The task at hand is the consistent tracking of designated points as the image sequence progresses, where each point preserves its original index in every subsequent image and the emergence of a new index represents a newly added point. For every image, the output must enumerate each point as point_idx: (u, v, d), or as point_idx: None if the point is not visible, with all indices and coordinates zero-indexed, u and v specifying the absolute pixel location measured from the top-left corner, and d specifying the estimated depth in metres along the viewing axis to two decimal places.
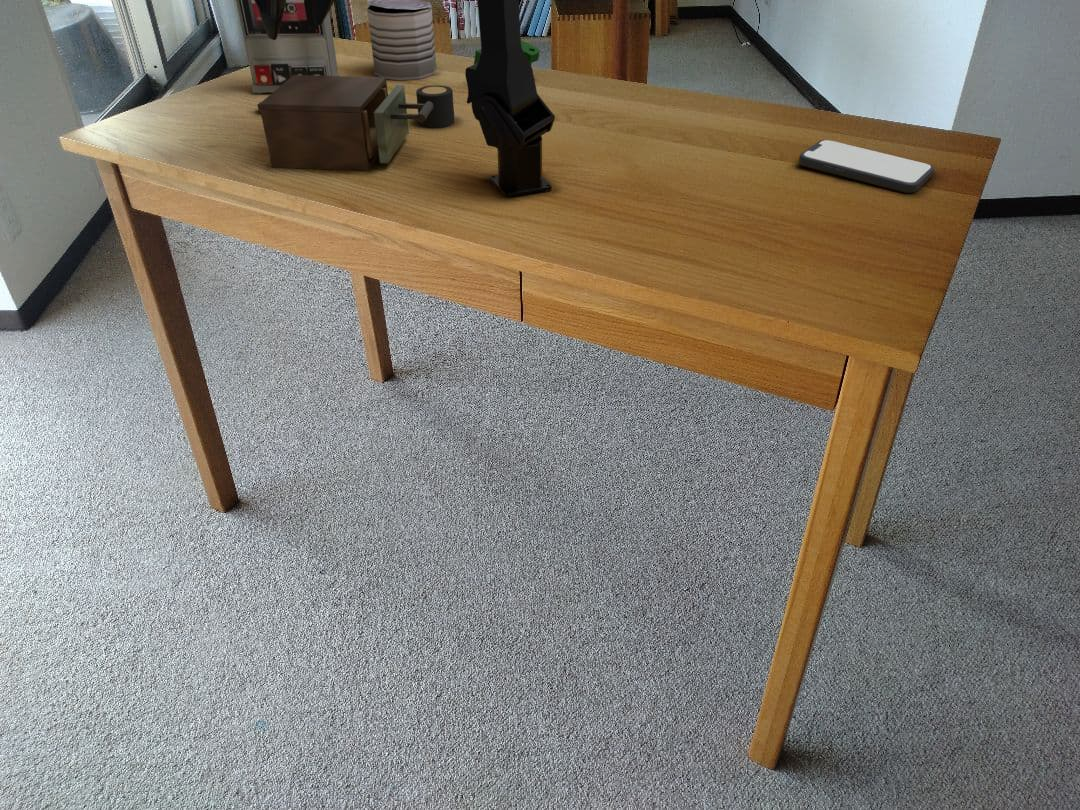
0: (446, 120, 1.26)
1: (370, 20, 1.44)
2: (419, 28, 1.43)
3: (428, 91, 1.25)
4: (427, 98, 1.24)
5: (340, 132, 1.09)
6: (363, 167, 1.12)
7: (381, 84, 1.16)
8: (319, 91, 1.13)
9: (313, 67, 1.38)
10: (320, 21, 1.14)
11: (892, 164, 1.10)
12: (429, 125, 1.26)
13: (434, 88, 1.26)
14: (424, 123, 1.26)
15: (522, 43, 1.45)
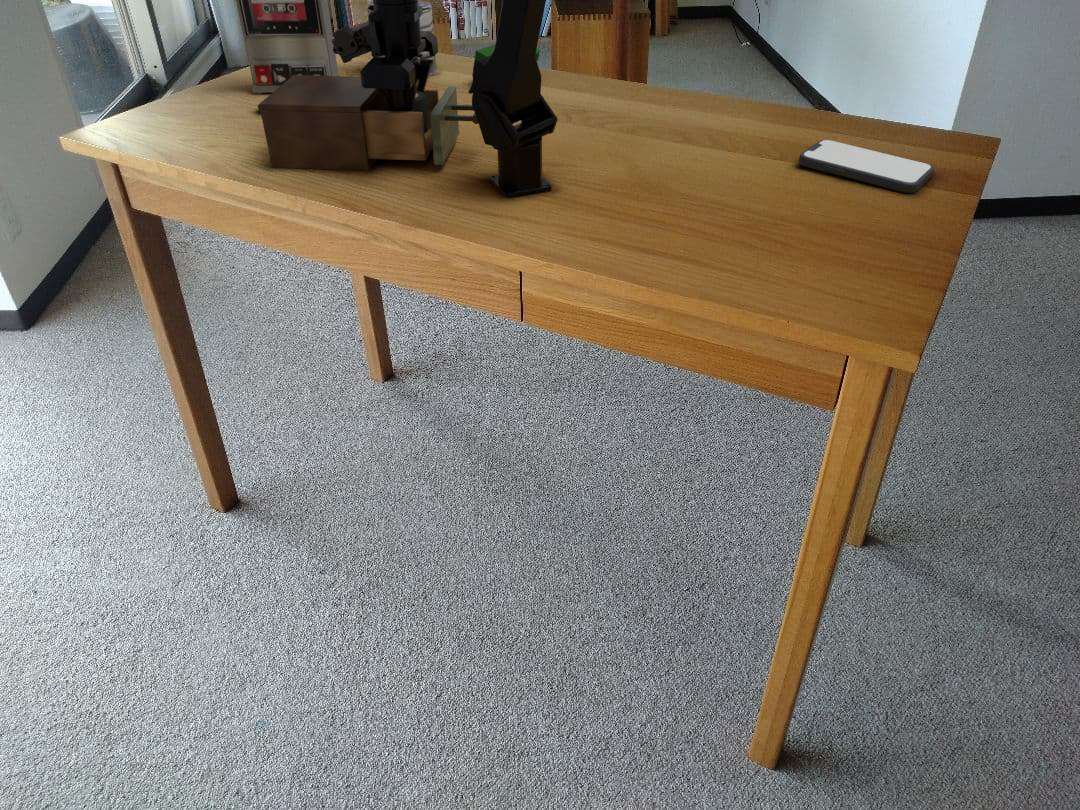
0: None
1: None
2: None
3: None
4: (423, 100, 1.12)
5: (340, 132, 1.09)
6: (363, 167, 1.12)
7: None
8: (319, 91, 1.13)
9: (313, 67, 1.38)
10: None
11: (892, 163, 1.10)
12: (426, 130, 1.14)
13: None
14: None
15: None
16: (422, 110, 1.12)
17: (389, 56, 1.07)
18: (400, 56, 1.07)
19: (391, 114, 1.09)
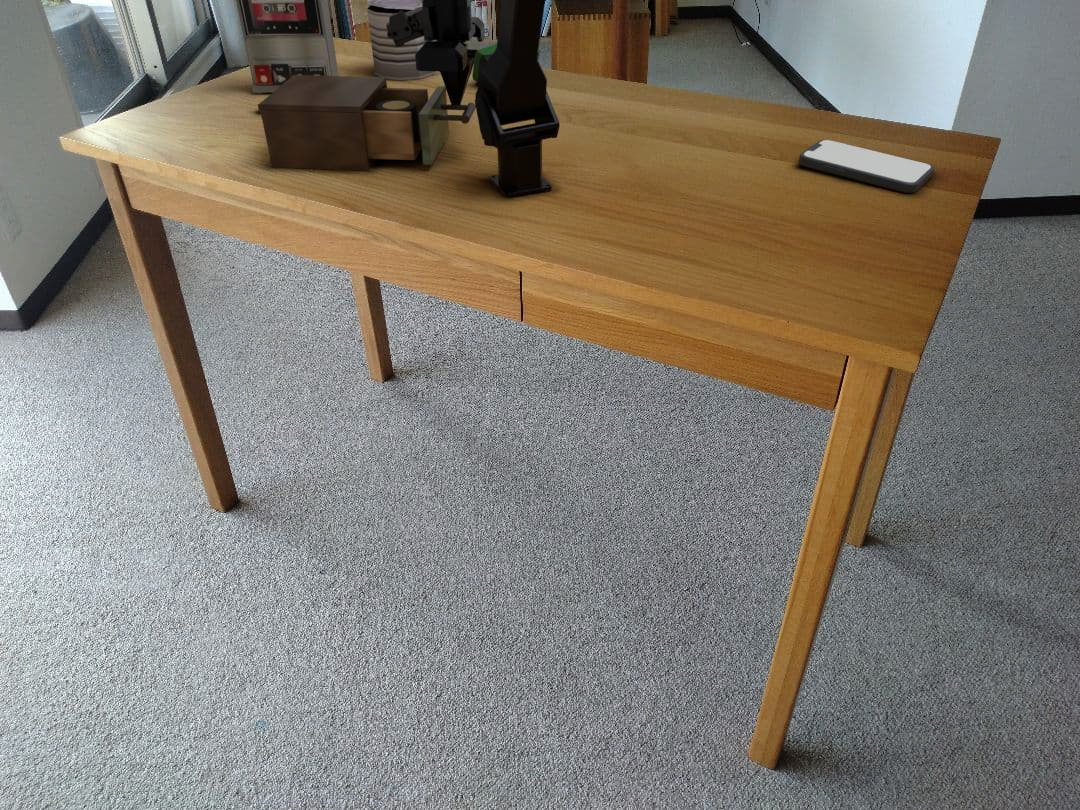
0: None
1: (370, 20, 1.44)
2: None
3: (400, 106, 1.13)
4: (415, 110, 1.13)
5: (340, 132, 1.09)
6: (363, 167, 1.12)
7: (381, 84, 1.16)
8: (319, 91, 1.13)
9: (313, 67, 1.38)
10: None
11: (892, 163, 1.10)
12: (417, 139, 1.15)
13: (386, 105, 1.13)
14: None
15: None
16: (413, 119, 1.13)
17: (441, 40, 1.10)
18: (452, 40, 1.10)
19: (380, 113, 1.09)
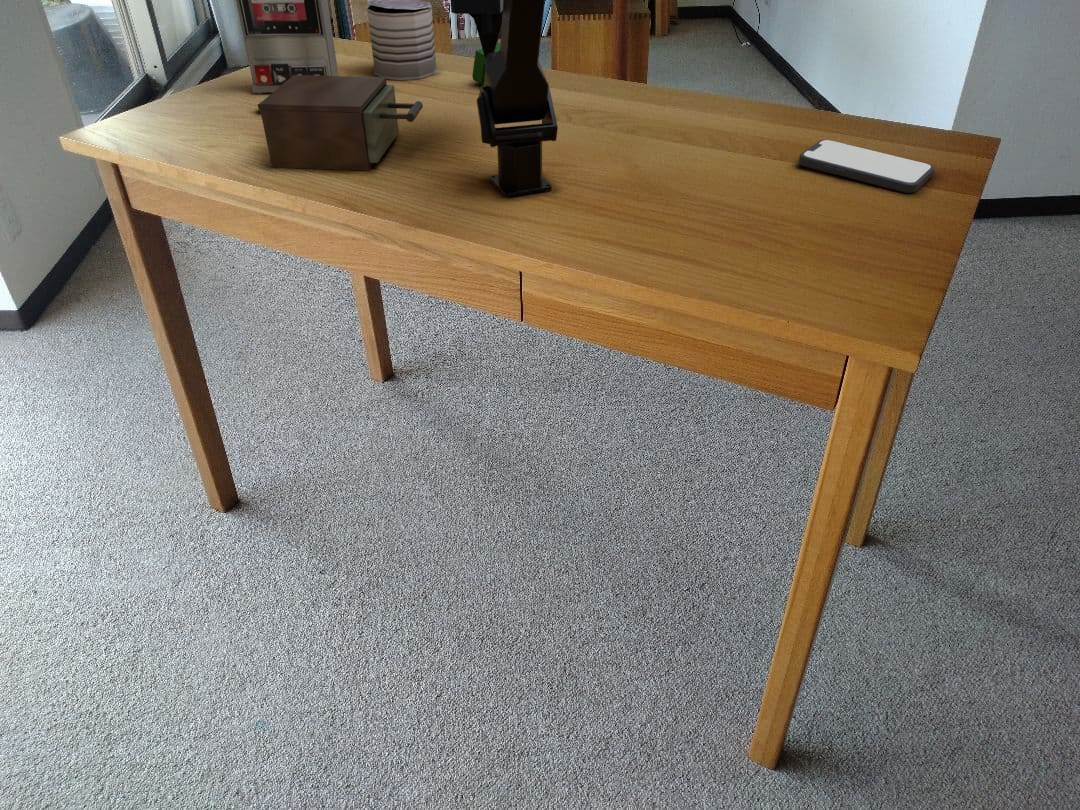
0: None
1: (370, 20, 1.44)
2: (419, 28, 1.43)
3: None
4: None
5: (340, 132, 1.09)
6: (363, 167, 1.12)
7: (381, 84, 1.16)
8: (319, 91, 1.13)
9: (313, 67, 1.38)
10: (493, 52, 1.13)
11: (892, 163, 1.10)
12: None
13: None
14: None
15: None
16: None
17: None
18: None
19: None
